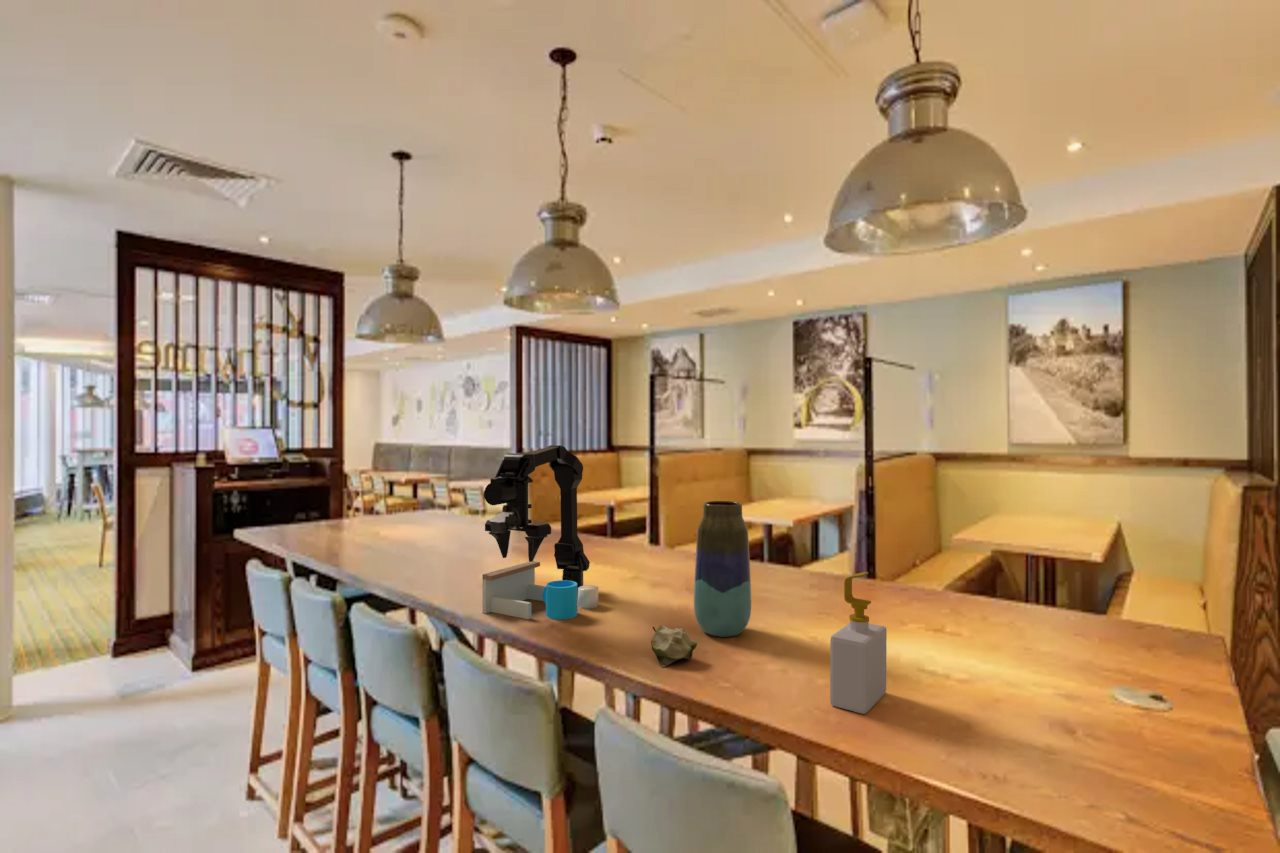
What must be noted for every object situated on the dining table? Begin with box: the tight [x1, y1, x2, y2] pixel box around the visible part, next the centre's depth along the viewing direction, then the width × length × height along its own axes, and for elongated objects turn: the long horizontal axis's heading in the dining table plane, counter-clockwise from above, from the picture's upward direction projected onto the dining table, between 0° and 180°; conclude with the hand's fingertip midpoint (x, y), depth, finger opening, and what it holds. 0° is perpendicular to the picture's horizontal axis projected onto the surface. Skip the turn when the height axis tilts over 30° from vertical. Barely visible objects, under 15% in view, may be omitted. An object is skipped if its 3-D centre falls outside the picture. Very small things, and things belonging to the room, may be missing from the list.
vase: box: [693, 500, 752, 638], centre depth 159 cm, size 14×14×31 cm
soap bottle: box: [829, 571, 888, 715], centre depth 120 cm, size 12×7×23 cm, turn 143°
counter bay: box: [482, 560, 546, 620], centre depth 179 cm, size 20×14×10 cm
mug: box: [543, 579, 578, 620], centre depth 174 cm, size 12×8×8 cm
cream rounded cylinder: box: [577, 584, 599, 610], centre depth 181 cm, size 6×6×5 cm
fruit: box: [650, 624, 698, 669], centre depth 141 cm, size 9×9×8 cm
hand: (517, 559), depth 174 cm, fingers open, 9 cm apart
